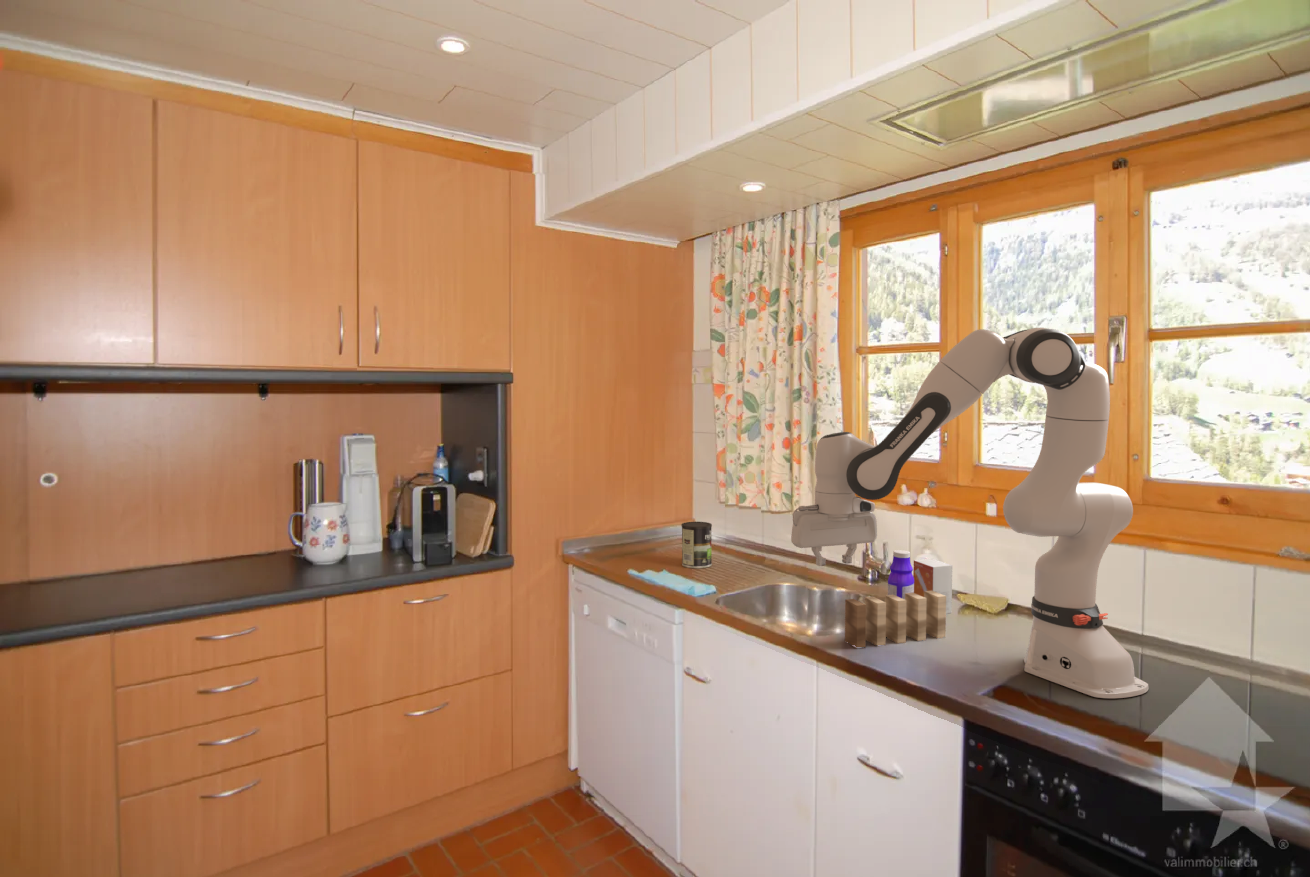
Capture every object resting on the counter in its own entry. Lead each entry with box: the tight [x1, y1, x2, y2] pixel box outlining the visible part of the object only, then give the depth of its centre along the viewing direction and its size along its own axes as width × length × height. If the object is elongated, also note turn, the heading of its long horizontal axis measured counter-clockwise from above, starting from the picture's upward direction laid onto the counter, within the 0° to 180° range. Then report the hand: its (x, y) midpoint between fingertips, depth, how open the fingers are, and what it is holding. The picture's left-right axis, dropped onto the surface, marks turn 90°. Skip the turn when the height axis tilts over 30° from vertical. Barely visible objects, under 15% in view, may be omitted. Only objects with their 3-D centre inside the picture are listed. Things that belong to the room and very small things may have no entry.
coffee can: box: [681, 521, 713, 569], centre depth 236 cm, size 10×10×14 cm
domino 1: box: [844, 598, 867, 648], centre depth 160 cm, size 5×2×10 cm, turn 17°
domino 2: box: [864, 596, 887, 647], centre depth 161 cm, size 5×2×10 cm, turn 17°
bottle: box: [887, 549, 914, 600], centre depth 178 cm, size 7×6×17 cm
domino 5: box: [924, 591, 947, 639], centre depth 166 cm, size 5×2×10 cm, turn 17°
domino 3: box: [884, 594, 907, 644], centre depth 163 cm, size 5×2×10 cm, turn 17°
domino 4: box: [905, 593, 927, 642], centre depth 165 cm, size 5×2×10 cm, turn 17°
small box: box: [912, 558, 953, 615], centre depth 185 cm, size 8×6×13 cm
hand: (833, 564), depth 157 cm, fingers open, 5 cm apart
